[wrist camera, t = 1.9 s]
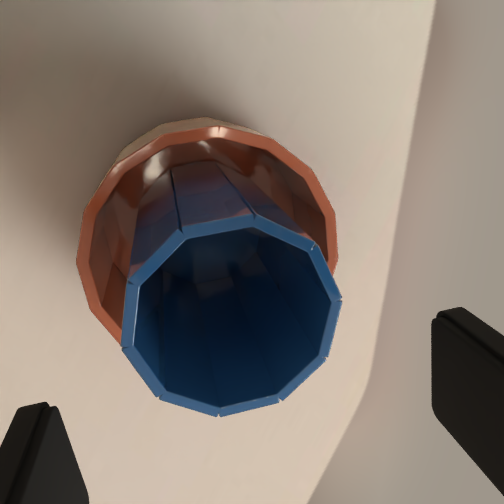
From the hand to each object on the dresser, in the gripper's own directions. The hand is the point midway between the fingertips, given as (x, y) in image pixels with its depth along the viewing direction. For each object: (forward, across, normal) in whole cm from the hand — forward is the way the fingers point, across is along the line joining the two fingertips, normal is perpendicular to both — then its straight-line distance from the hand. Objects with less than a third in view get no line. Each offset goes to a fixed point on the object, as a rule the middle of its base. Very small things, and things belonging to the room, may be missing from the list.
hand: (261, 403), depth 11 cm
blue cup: (+14, 0, 0) cm, 15 cm away
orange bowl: (+15, 0, -1) cm, 15 cm away
